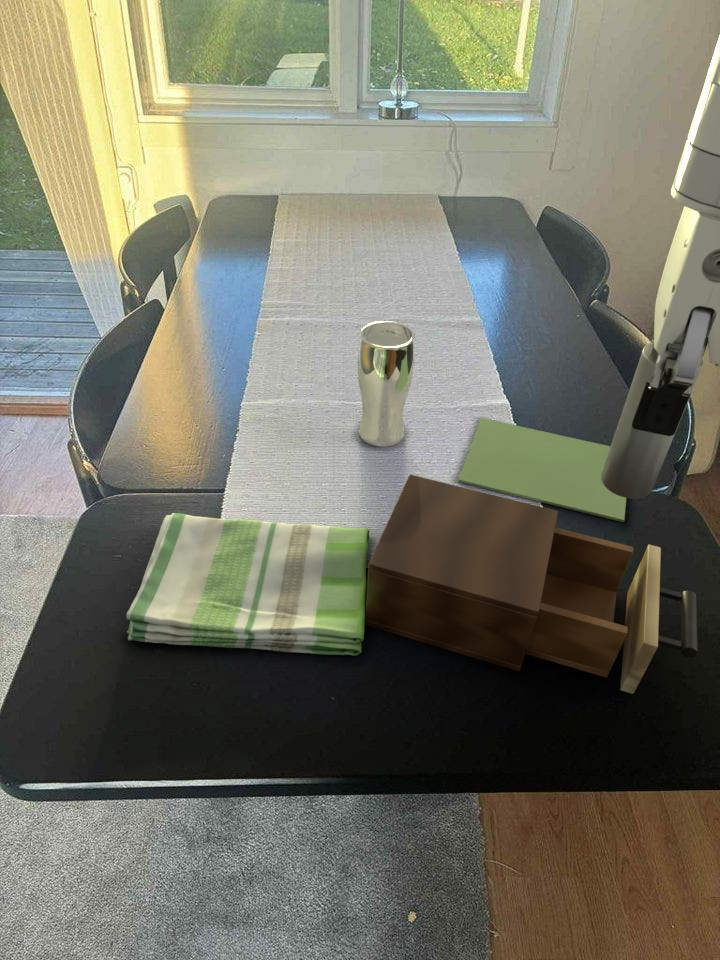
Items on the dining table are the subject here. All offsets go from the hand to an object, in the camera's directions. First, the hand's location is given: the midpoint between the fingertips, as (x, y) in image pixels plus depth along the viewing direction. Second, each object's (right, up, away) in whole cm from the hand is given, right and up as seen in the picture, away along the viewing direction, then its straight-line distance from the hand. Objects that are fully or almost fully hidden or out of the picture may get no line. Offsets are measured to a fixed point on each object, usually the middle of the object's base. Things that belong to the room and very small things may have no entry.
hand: (653, 410), depth 56 cm
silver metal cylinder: (0, -6, +5) cm, 8 cm away
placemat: (0, -4, +33) cm, 34 cm away
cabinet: (-14, -18, +17) cm, 28 cm away
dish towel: (-34, -17, +17) cm, 42 cm away
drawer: (-1, -20, +13) cm, 24 cm away
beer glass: (-21, +1, +38) cm, 43 cm away
